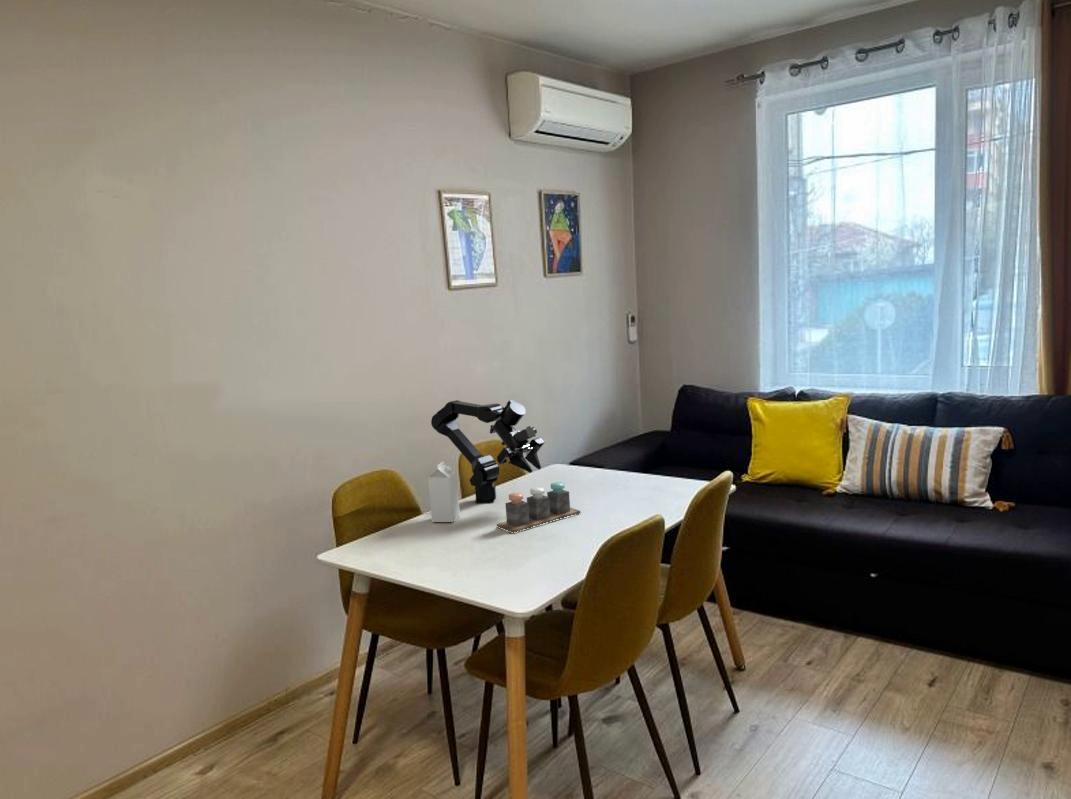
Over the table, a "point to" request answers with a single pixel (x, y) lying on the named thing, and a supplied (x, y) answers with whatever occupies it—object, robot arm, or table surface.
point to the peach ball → (515, 498)
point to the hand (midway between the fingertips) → (535, 470)
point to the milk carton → (444, 494)
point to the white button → (537, 492)
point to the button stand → (537, 511)
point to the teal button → (557, 487)
